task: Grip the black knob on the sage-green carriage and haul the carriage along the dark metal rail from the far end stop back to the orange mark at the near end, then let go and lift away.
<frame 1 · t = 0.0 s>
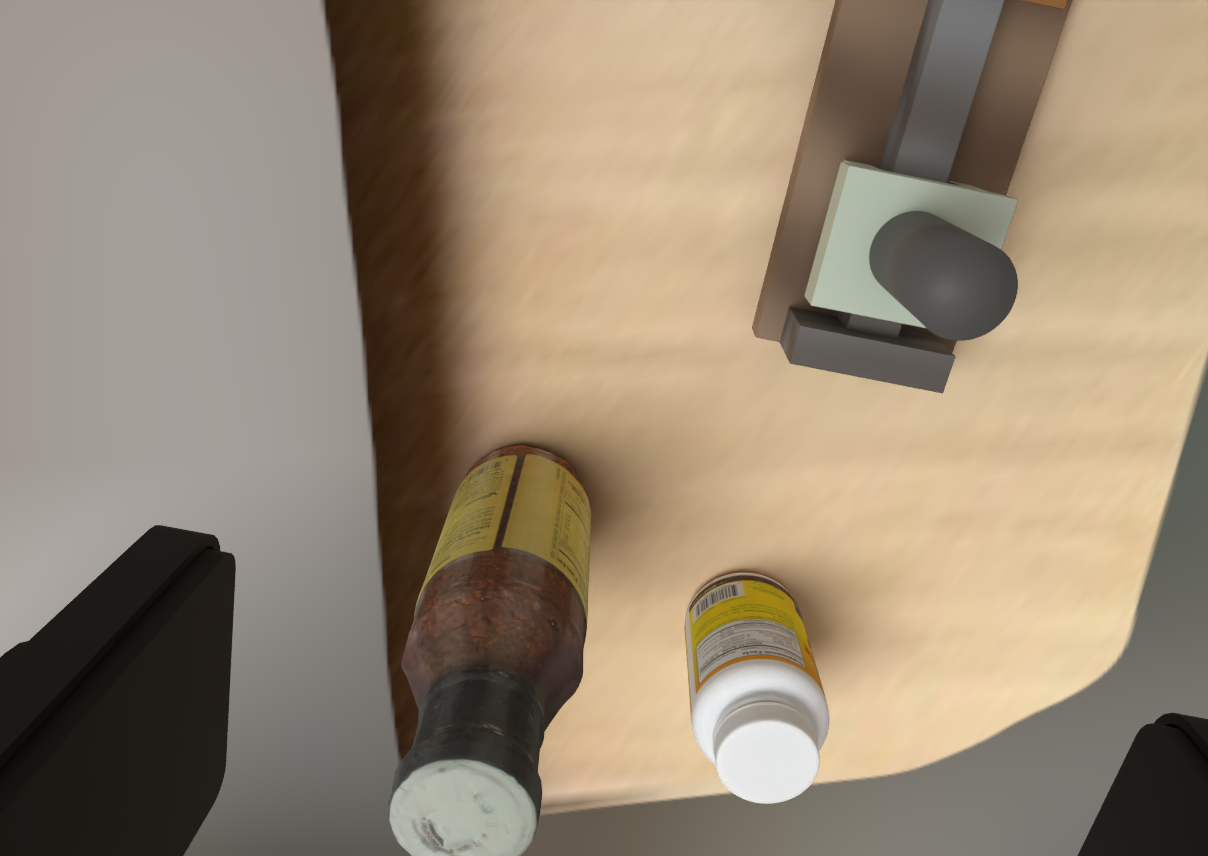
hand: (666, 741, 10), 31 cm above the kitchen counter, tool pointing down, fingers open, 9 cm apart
rail base: (915, 102, 36), on the kitchen counter
carriage: (921, 260, 32), point 7 cm above the kitchen counter, slide at 10.0 cm
sauce bottle: (530, 498, 43), on the kitchen counter
supplement bottle: (741, 614, 45), on the kitchen counter
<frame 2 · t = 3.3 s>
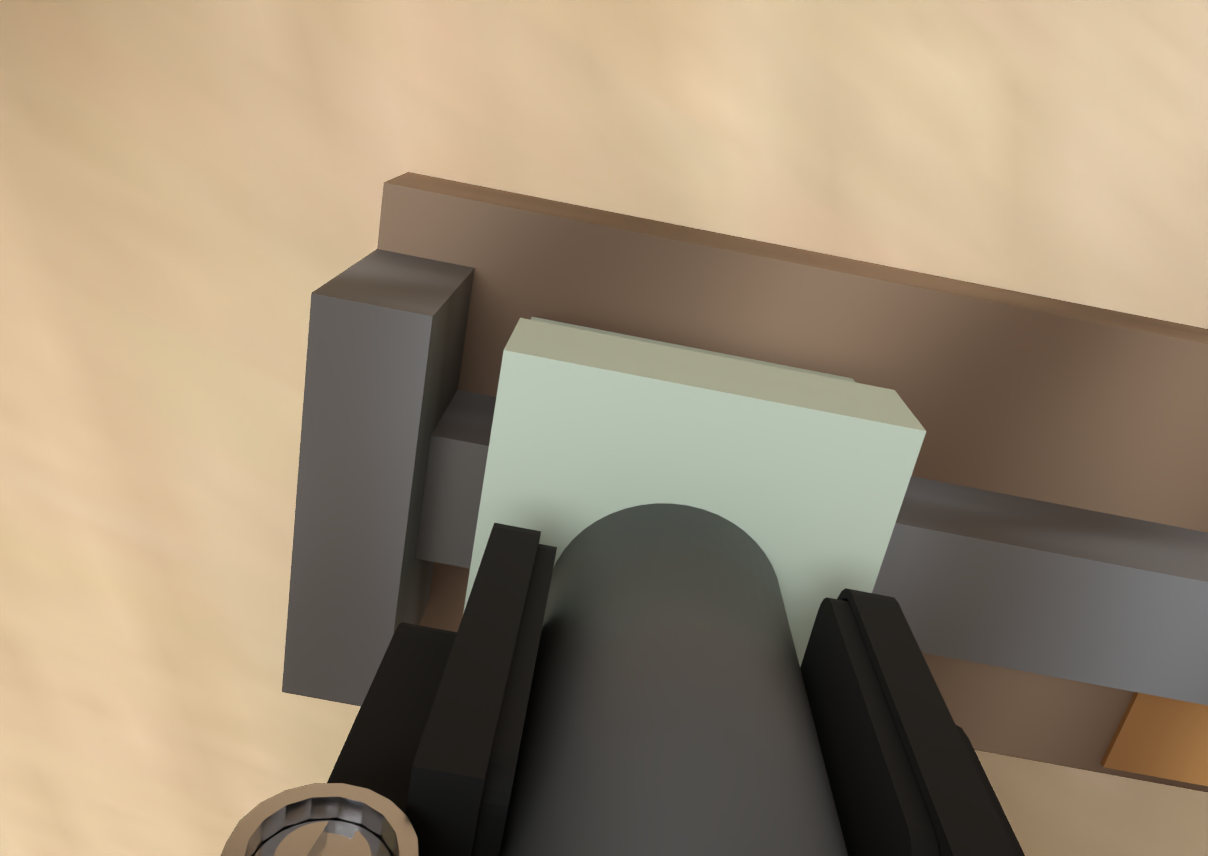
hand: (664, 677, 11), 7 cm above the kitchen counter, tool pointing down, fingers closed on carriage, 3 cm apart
rail base: (928, 502, 17), on the kitchen counter
carriage: (664, 668, 11), point 7 cm above the kitchen counter, slide at 10.0 cm, touching gripper
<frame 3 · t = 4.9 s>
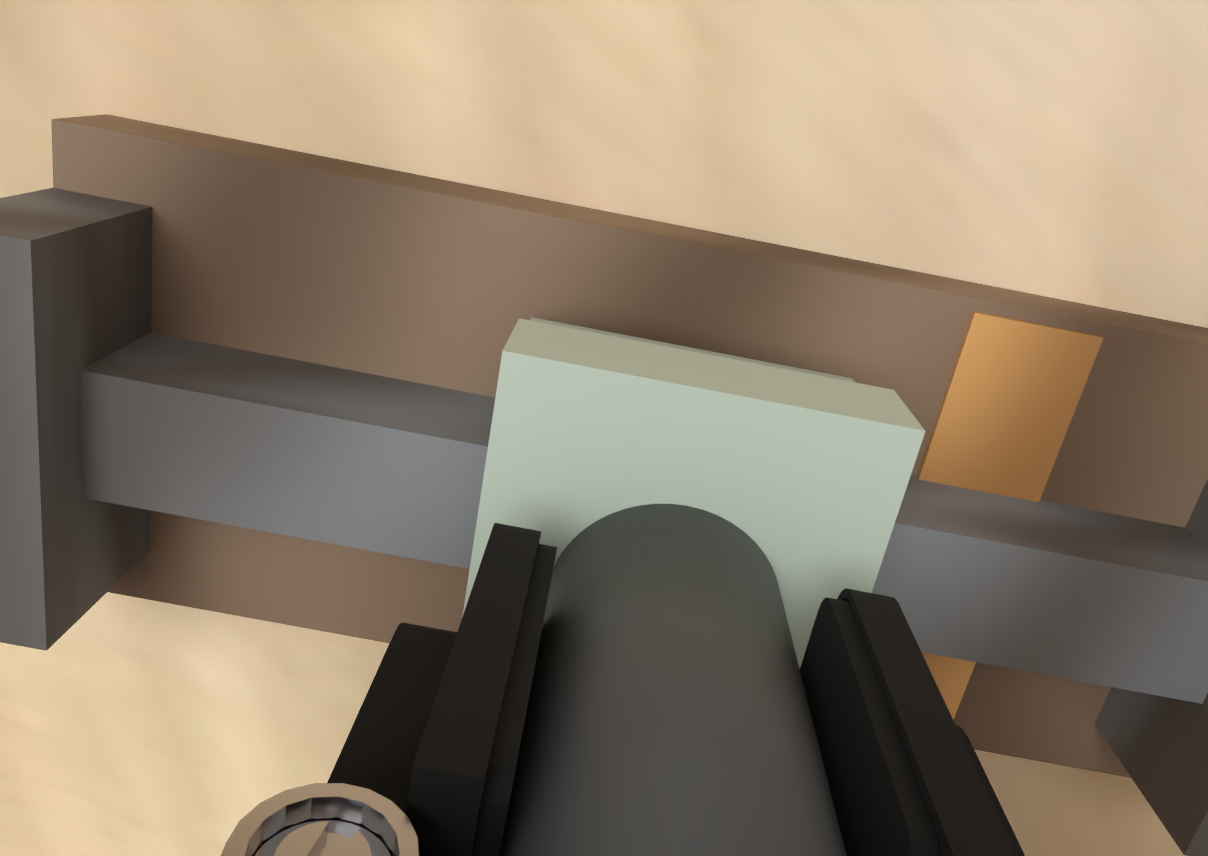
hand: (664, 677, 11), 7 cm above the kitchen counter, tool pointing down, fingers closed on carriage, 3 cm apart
rail base: (661, 451, 17), on the kitchen counter
carriage: (663, 668, 11), point 7 cm above the kitchen counter, slide at 5.0 cm, touching gripper
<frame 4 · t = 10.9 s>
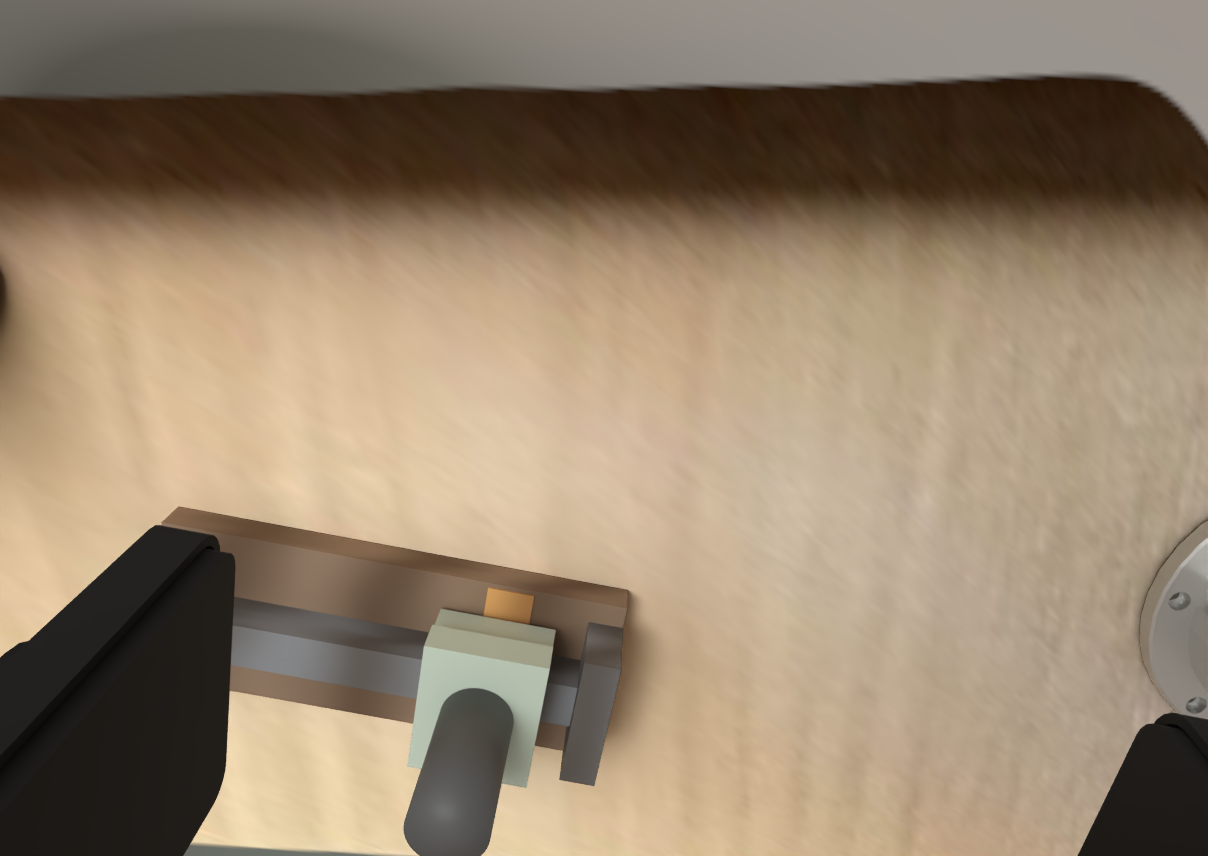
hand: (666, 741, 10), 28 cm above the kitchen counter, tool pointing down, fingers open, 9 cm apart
rail base: (395, 625, 43), on the kitchen counter
carriage: (471, 739, 37), point 7 cm above the kitchen counter, slide at 0.3 cm
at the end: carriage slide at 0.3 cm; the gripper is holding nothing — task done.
